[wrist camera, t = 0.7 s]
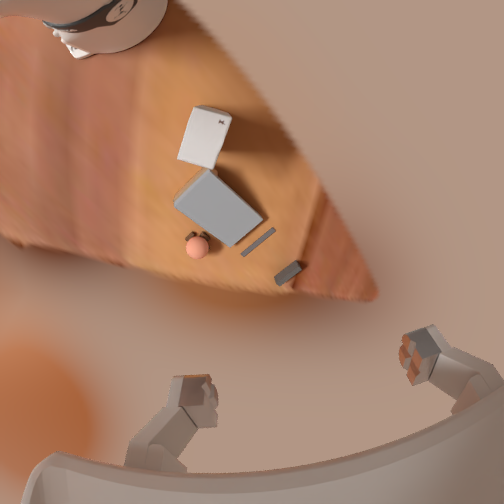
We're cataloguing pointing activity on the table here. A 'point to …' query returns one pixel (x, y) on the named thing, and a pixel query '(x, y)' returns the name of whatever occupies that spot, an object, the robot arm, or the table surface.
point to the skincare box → (204, 136)
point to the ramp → (216, 207)
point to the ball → (197, 247)
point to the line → (258, 242)
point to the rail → (287, 273)
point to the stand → (201, 235)
